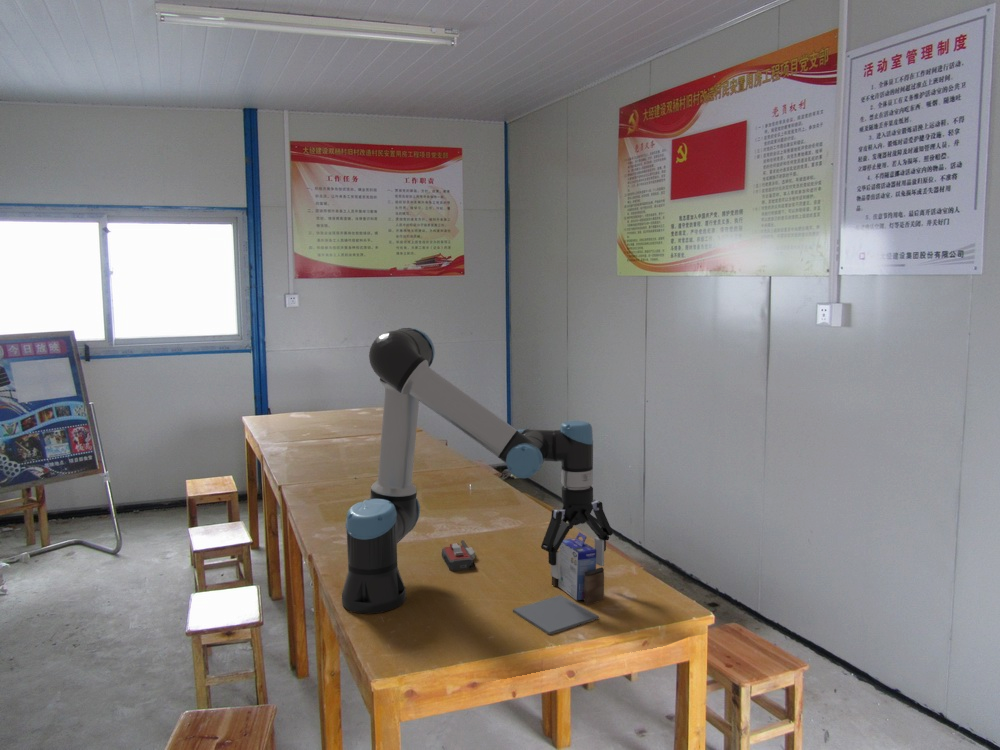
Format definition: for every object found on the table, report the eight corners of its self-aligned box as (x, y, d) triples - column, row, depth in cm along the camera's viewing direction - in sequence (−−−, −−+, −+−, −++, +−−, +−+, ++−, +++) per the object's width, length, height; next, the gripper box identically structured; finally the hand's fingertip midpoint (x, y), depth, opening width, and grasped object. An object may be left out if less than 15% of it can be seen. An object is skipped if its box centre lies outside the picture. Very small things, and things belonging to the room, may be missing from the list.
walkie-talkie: (482, 570, 203) (465, 545, 222) (482, 554, 203) (465, 530, 222) (450, 574, 201) (436, 548, 220) (450, 558, 200) (435, 533, 219)
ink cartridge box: (597, 598, 184) (597, 540, 182) (577, 602, 182) (577, 543, 180) (577, 583, 193) (577, 527, 191) (557, 587, 191) (557, 531, 189)
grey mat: (549, 634, 166) (549, 632, 165) (512, 611, 177) (512, 609, 177) (598, 618, 173) (598, 616, 173) (560, 597, 185) (560, 594, 185)
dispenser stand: (587, 604, 180) (587, 572, 179) (551, 585, 192) (551, 554, 191) (603, 599, 183) (604, 568, 182) (567, 580, 195) (567, 550, 194)
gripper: (544, 498, 174) (545, 587, 177) (626, 480, 188) (626, 564, 190) (525, 491, 180) (527, 577, 183) (606, 474, 194) (606, 555, 197)
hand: (577, 570), depth 187 cm, fingers open, 13 cm apart
